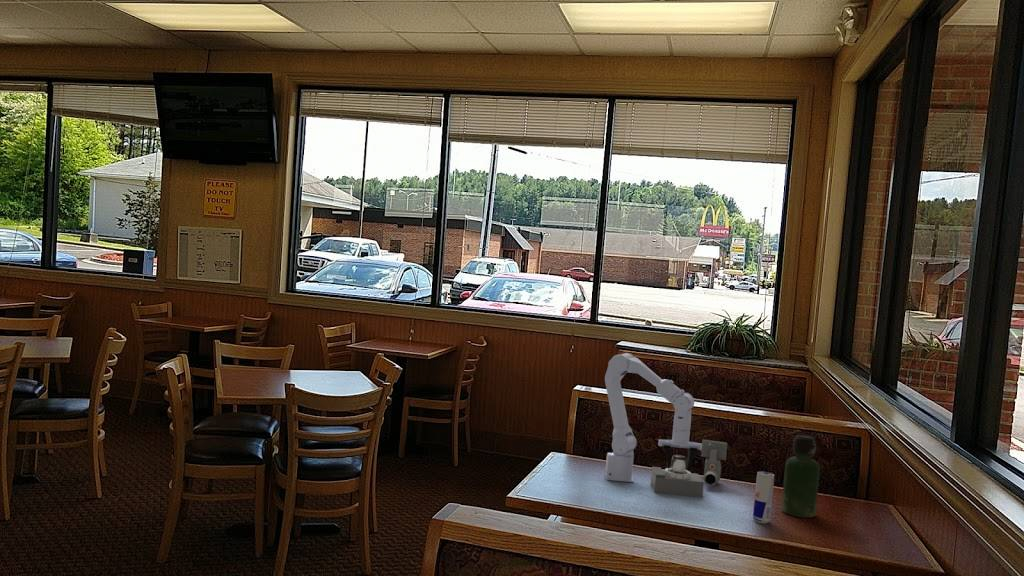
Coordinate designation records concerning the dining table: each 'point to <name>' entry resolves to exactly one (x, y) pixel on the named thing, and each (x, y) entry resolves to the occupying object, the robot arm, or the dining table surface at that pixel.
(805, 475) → the green bottle
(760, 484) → the beverage can
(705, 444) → the camera
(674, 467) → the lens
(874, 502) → the dining table surface
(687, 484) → the mount block
